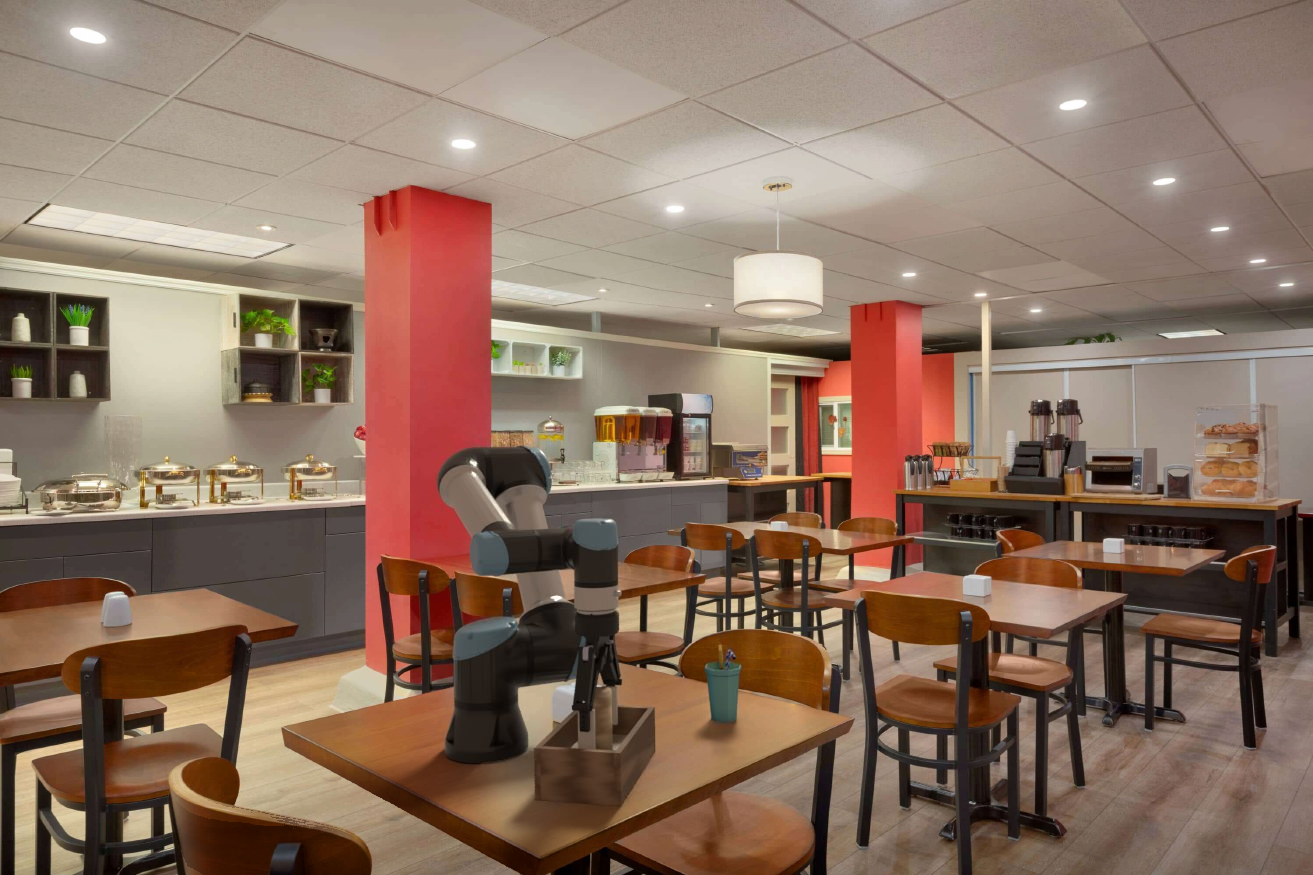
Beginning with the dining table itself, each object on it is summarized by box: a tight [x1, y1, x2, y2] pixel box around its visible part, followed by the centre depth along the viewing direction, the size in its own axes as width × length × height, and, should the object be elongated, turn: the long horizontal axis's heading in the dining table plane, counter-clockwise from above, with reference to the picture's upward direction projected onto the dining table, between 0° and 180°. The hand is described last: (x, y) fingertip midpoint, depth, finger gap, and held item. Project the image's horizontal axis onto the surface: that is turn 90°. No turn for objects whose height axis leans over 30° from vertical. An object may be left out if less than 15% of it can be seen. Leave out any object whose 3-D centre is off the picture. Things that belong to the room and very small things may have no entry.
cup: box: [704, 644, 742, 724], centre depth 167 cm, size 14×8×15 cm, turn 12°
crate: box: [533, 704, 657, 807], centre depth 140 cm, size 14×24×8 cm, turn 167°
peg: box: [593, 686, 613, 750], centre depth 140 cm, size 4×4×14 cm
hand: (598, 736), depth 140 cm, fingers open, 13 cm apart
